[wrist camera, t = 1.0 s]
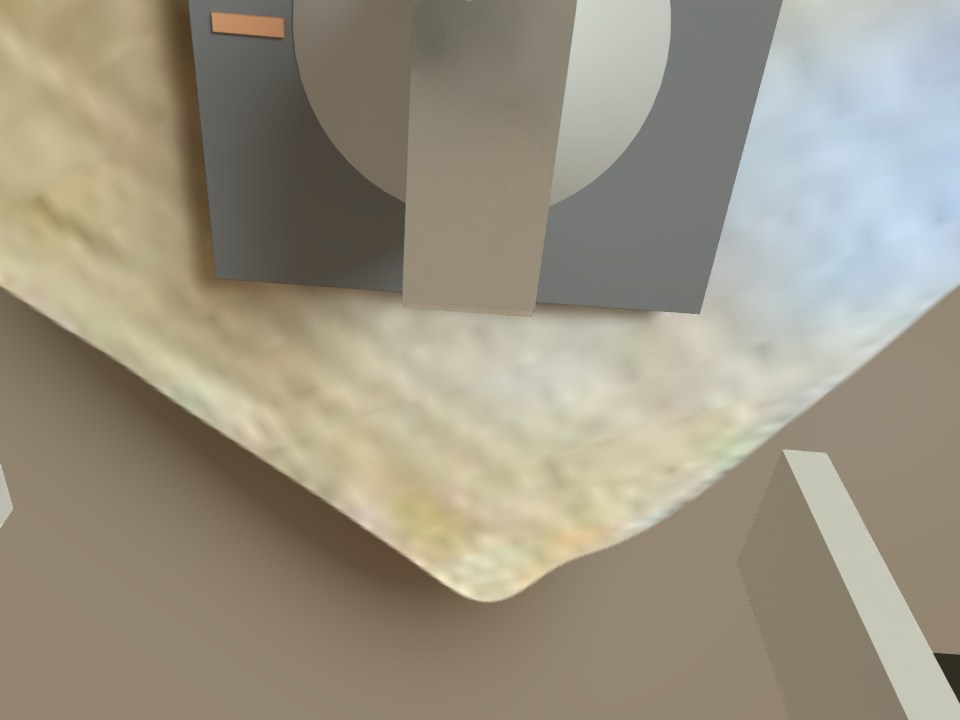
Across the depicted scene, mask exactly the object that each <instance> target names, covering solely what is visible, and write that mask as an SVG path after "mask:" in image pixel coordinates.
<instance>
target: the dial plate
mask: <svg viewBox="0 0 960 720" xmlns="http://www.w3.org/2000/svg"><path fill="white" fill-rule="evenodd" d="M782 1H783V0H577V8H576V15H575V22H574V29H573V36H572V44H571V51H570V58H569V65H568V73H567V80H566V87H565V94H564V102H563V109H562V116H561V123H560V130H559V138H558V145H557V152H556V159H555V167H554V174H553V181H552V188H551V196H550V203H549V210H548V217H547V224H546V232H545V239H544V246H543V253H542V261H541V268H540V275H539V282H538V290H537V297H536V302H541V303H555V304H569V305H582V306H596V307H609V308H623V309H636V310H650V311H664V312H677V313H691V314H700V311H701V307H702V303H703V300H704V296H705V292H706V288H707V284H708V281H709V277H710V273H711V269H712V266H713V262H714V258H715V254H716V250H717V247H718V243H719V239H720V235H721V232H722V228H723V224H724V220H725V216H726V213H727V209H728V205H729V201H730V197H731V194H732V190H733V186H734V182H735V179H736V175H737V171H738V167H739V163H740V160H741V156H742V152H743V148H744V144H745V141H746V137H747V133H748V129H749V126H750V122H751V118H752V114H753V110H754V107H755V103H756V99H757V95H758V91H759V88H760V84H761V80H762V76H763V73H764V69H765V65H766V61H767V57H768V54H769V50H770V46H771V42H772V38H773V35H774V31H775V27H776V23H777V20H778V16H779V12H780V8H781V4H782ZM188 3H189V13H190V23H191V33H192V43H193V53H194V63H195V73H196V83H197V92H198V102H199V112H200V122H201V132H202V142H203V152H204V162H205V172H206V182H207V192H208V202H209V212H210V222H211V232H212V242H213V251H214V261H215V271H216V279H229V280H243V281H256V282H270V283H284V284H297V285H311V286H324V287H338V288H351V289H365V290H379V291H392V292H402V291H403V264H404V238H405V211H406V185H407V158H408V131H409V105H410V78H411V52H412V25H413V0H188Z"/></svg>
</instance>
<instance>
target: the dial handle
mask: <svg viewBox="0 0 960 720" xmlns="http://www.w3.org/2000/svg"><path fill="white" fill-rule="evenodd" d="M576 8H577V0H413V25H412V52H411V78H410V105H409V131H408V158H407V185H406V211H405V238H404V264H403V291H402V302H403V307H406V308H419V309H433V310H447V311H461V312H474V313H488V314H502V315H516V316H529V317H532V312H534V311H535V304H536V297H537V290H538V282H539V275H540V268H541V261H542V253H543V246H544V239H545V232H546V224H547V217H548V210H549V203H550V196H551V188H552V181H553V174H554V167H555V159H556V152H557V145H558V138H559V130H560V123H561V116H562V109H563V102H564V94H565V87H566V80H567V73H568V65H569V58H570V51H571V44H572V36H573V29H574V22H575V15H576Z"/></svg>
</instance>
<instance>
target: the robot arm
mask: <svg viewBox="0 0 960 720" xmlns="http://www.w3.org/2000/svg"><path fill="white" fill-rule="evenodd" d="M12 510H13V506H12V502H11V499H10V496H9V492H8V488H7V485H6V481H5V478H4V474H3V471H2V467H1V463H0V528H1V526H2V525H3V523H4V522H5V520H6V519H7V517H8V516H9V514H10V512H11V511H12ZM737 565H738V567H739V571H740V574H741V577H742V579H743V583H744V586H745V589H746V591H747V594H748V597H749V600H750V603H751V606H752V609H753V612H754V615H755V618H756V621H757V624H758V627H759V630H760V633H761V635H762V638H763V642H764V645H765V648H766V651H767V653H768V656H769V659H770V662H771V665H772V668H773V671H774V674H775V677H776V680H777V683H778V686H779V689H780V692H781V695H782V698H783V701H784V704H785V707H786V709H787V713H788V716H789V719H790V720H960V655H956V654H942V653H932V651H931V649H930V647H929V645H928V643H927V642H926V640H925V638H924V636H923V634H922V632H921V630H920V628H919V626H918V624H917V623H916V621H915V619H914V617H913V615H912V613H911V611H910V609H909V608H908V606H907V604H906V602H905V600H904V598H903V596H902V594H901V593H900V591H899V589H898V587H897V585H896V583H895V581H894V580H893V578H892V576H891V574H890V572H889V570H888V568H887V566H886V564H885V562H884V561H883V559H882V557H881V555H880V553H879V551H878V549H877V547H876V546H875V544H874V542H873V540H872V538H871V536H870V535H869V532H868V531H867V529H866V527H865V525H864V523H863V521H862V519H861V517H860V515H859V514H858V512H857V510H856V508H855V506H854V504H853V502H852V500H851V498H850V497H849V495H848V493H847V491H846V489H845V487H844V485H843V483H842V482H841V480H840V478H839V476H838V474H837V472H836V470H835V468H834V467H833V465H832V463H831V461H830V459H829V457H828V455H827V453H818V452H805V451H794V450H782V452H781V454H780V457H779V459H778V462H777V464H776V467H775V469H774V471H773V474H772V476H771V479H770V481H769V484H768V486H767V489H766V491H765V494H764V496H763V499H762V501H761V504H760V506H759V509H758V511H757V513H756V516H755V518H754V521H753V523H752V526H751V528H750V531H749V533H748V536H747V538H746V541H745V543H744V546H743V548H742V551H741V553H740V555H739V558H738V560H737Z"/></svg>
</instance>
